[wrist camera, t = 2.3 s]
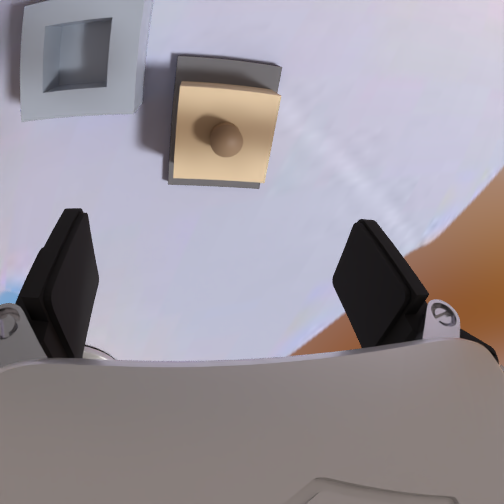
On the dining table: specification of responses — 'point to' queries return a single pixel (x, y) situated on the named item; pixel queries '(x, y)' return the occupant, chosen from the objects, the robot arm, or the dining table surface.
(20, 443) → the robot arm
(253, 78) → the grey rectangular plate
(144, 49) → the grey square container
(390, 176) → the dining table surface
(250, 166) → the lid
